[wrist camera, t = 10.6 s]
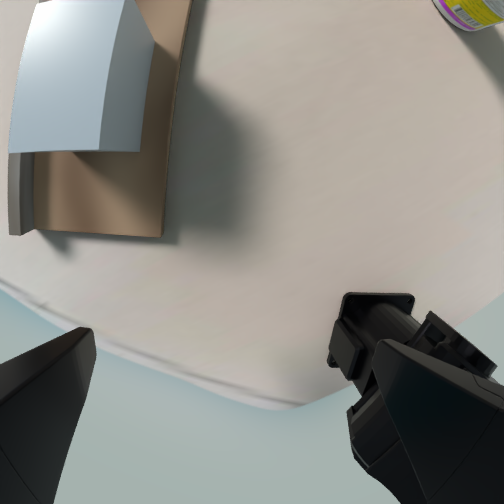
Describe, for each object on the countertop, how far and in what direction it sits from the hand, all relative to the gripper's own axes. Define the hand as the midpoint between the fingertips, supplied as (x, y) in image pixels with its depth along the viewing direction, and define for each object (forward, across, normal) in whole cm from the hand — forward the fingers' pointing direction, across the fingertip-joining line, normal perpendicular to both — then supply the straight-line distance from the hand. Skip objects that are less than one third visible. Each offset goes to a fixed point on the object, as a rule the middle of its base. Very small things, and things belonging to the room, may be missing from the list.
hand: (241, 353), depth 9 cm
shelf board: (+12, +9, -9) cm, 17 cm away
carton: (+11, +8, -9) cm, 16 cm away
